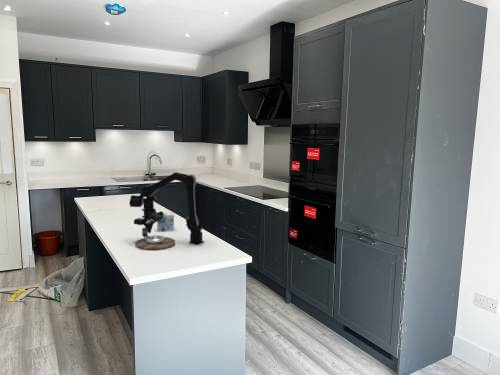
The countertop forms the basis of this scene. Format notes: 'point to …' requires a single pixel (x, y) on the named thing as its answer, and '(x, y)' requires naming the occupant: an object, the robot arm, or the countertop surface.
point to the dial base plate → (146, 246)
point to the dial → (151, 237)
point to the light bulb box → (166, 222)
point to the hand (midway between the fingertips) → (149, 233)
